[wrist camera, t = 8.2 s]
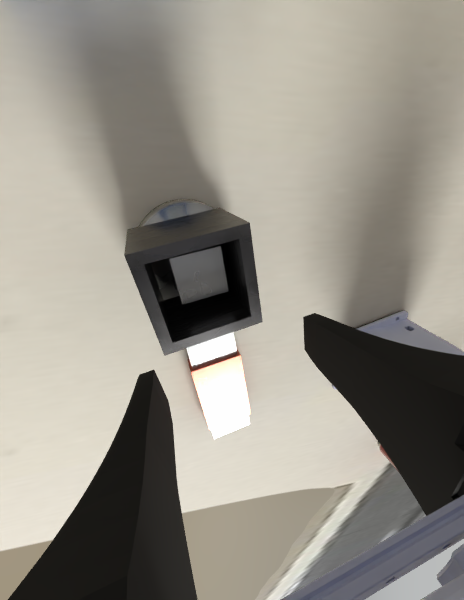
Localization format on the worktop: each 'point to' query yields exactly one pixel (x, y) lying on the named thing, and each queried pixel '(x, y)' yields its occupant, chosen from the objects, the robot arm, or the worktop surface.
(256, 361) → the worktop surface
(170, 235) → the hollow square tube
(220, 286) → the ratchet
